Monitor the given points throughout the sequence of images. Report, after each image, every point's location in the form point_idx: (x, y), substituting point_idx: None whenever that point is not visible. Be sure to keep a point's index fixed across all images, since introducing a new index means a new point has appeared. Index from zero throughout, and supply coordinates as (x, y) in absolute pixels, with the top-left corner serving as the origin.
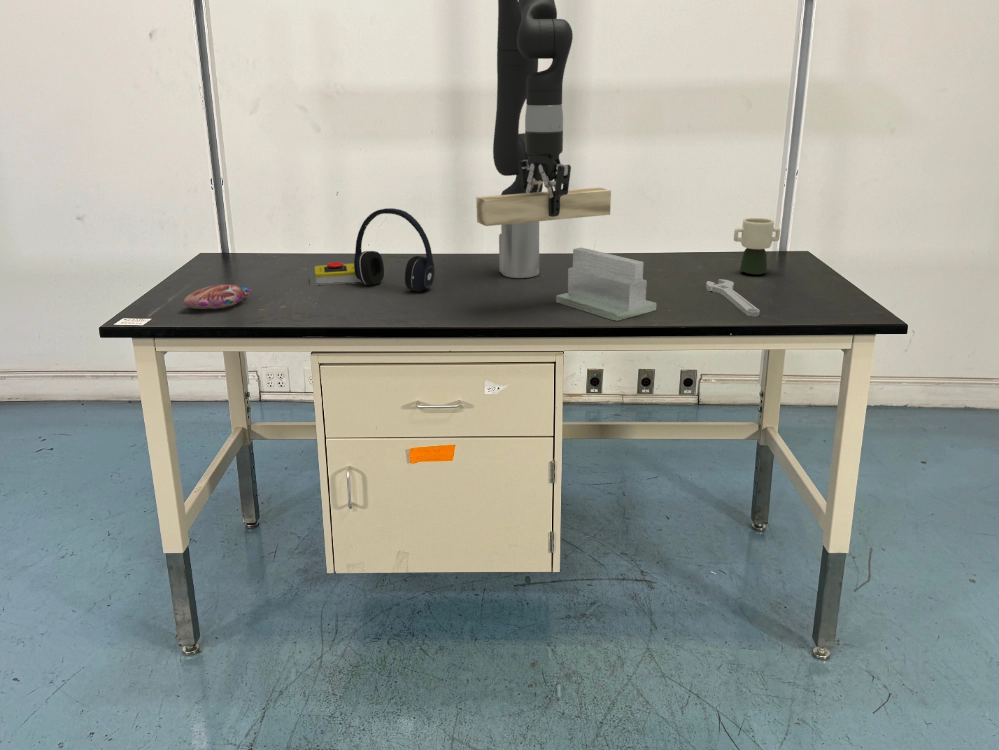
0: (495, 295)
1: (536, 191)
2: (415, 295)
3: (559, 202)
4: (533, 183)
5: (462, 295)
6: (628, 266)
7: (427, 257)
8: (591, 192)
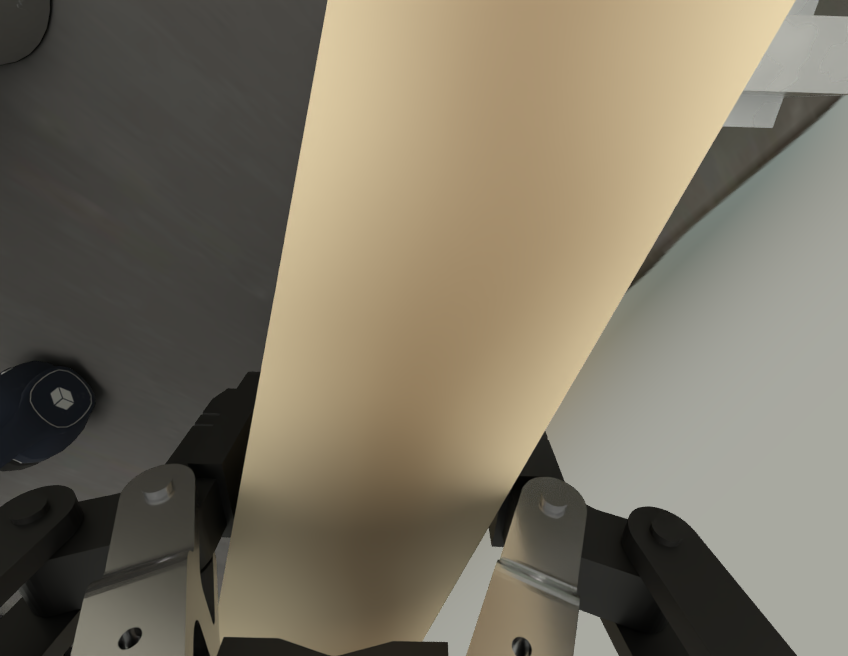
0: (223, 263)
1: (207, 504)
2: (114, 412)
3: (556, 465)
4: (217, 651)
5: (174, 331)
6: (798, 93)
7: (23, 449)
8: (777, 28)
